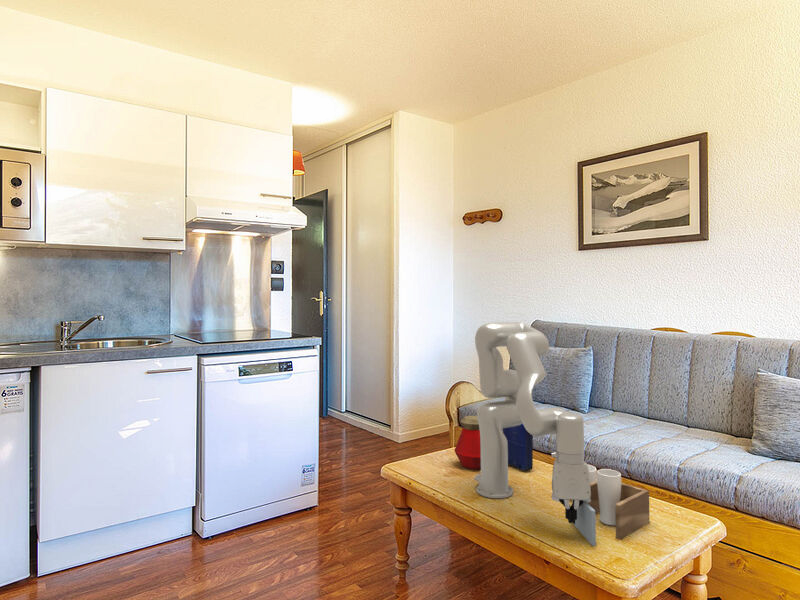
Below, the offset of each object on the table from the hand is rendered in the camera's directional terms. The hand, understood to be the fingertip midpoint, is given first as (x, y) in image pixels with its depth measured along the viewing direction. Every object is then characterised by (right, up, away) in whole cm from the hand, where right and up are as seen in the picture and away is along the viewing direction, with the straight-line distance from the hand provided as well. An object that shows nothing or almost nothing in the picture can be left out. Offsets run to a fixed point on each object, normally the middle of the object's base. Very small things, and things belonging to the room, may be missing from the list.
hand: (571, 521), depth 139 cm
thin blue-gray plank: (+4, -4, 0) cm, 5 cm away
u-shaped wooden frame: (+15, -4, +8) cm, 17 cm away
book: (-2, -5, +58) cm, 58 cm away
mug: (+12, -4, +26) cm, 29 cm away
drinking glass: (+14, -4, +8) cm, 17 cm away
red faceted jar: (-19, -5, +60) cm, 63 cm away
